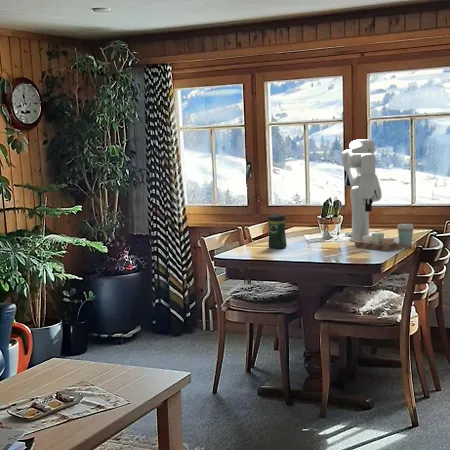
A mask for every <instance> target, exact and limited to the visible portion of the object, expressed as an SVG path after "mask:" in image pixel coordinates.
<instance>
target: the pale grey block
mask: <svg viewBox="0 0 450 450" xmlns="http://www.w3.org/2000/svg"><path fill="white" fill-rule="evenodd" d="M362 240H363V241H365V242H372V235H371V234H369V235H367V236H362Z"/></svg>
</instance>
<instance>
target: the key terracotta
mask: <svg viewBox="0 0 450 450" xmlns="http://www.w3.org/2000/svg"><path fill="white" fill-rule="evenodd" d="M394 242H395V238H394V237H384V238H382V244H387V245H390V244H394Z"/></svg>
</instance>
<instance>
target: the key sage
mask: <svg viewBox="0 0 450 450" xmlns="http://www.w3.org/2000/svg"><path fill="white" fill-rule="evenodd" d="M371 236H372V243H382V238H385V233H383V232H372V233H371Z"/></svg>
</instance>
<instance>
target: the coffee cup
mask: <svg viewBox="0 0 450 450" xmlns="http://www.w3.org/2000/svg"><path fill="white" fill-rule="evenodd" d="M396 227H397V228H396V229H397V232H398V241H399V242H398V243H402V248H404V247H406V248H407V249H408V248H411V247H412V242H413V233H414V225H413V223H398V224H397V226H396Z"/></svg>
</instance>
